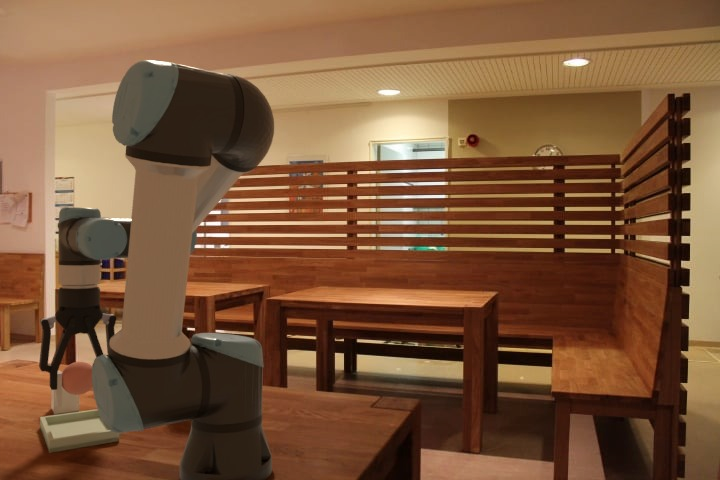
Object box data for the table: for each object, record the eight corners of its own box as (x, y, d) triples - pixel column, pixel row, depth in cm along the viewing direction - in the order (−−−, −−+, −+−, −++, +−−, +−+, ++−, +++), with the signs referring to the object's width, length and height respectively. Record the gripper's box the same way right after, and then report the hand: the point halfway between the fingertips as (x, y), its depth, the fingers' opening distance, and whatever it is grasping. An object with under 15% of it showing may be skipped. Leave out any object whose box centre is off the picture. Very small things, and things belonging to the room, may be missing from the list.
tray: (119, 441, 117) (119, 429, 117) (49, 452, 110) (49, 440, 110) (103, 418, 130) (103, 408, 130) (40, 427, 124) (40, 417, 124)
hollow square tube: (79, 410, 135) (79, 374, 135) (54, 414, 133) (54, 377, 133) (75, 405, 140) (75, 370, 140) (51, 408, 137) (51, 372, 137)
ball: (98, 396, 119) (99, 363, 119) (62, 400, 116) (63, 367, 116) (93, 388, 125) (93, 357, 125) (58, 392, 121) (58, 360, 121)
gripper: (126, 282, 128) (125, 391, 129) (21, 286, 118) (21, 405, 118) (135, 286, 122) (133, 400, 122) (25, 290, 111) (24, 415, 112)
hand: (78, 402), depth 120 cm, fingers closed on ball, 6 cm apart
